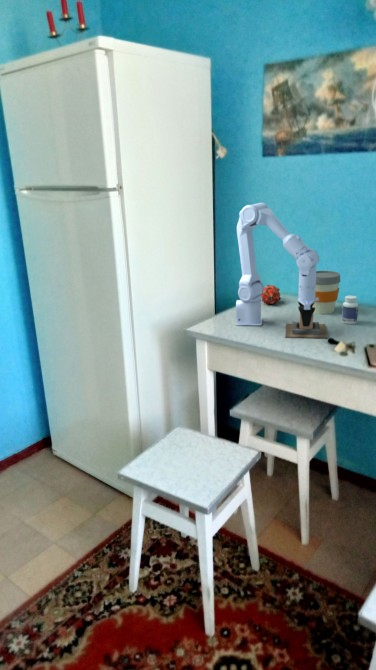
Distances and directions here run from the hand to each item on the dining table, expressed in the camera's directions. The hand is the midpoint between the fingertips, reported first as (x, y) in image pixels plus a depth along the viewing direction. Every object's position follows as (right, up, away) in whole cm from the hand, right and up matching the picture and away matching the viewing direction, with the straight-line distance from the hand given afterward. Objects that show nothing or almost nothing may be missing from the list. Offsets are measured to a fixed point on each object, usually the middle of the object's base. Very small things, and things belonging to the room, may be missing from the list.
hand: (305, 323), depth 171 cm
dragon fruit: (-6, +9, +36) cm, 38 cm away
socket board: (0, -3, +1) cm, 3 cm away
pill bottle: (+18, 0, +8) cm, 20 cm away
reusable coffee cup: (+12, +5, +23) cm, 26 cm away
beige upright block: (0, -2, +1) cm, 2 cm away
